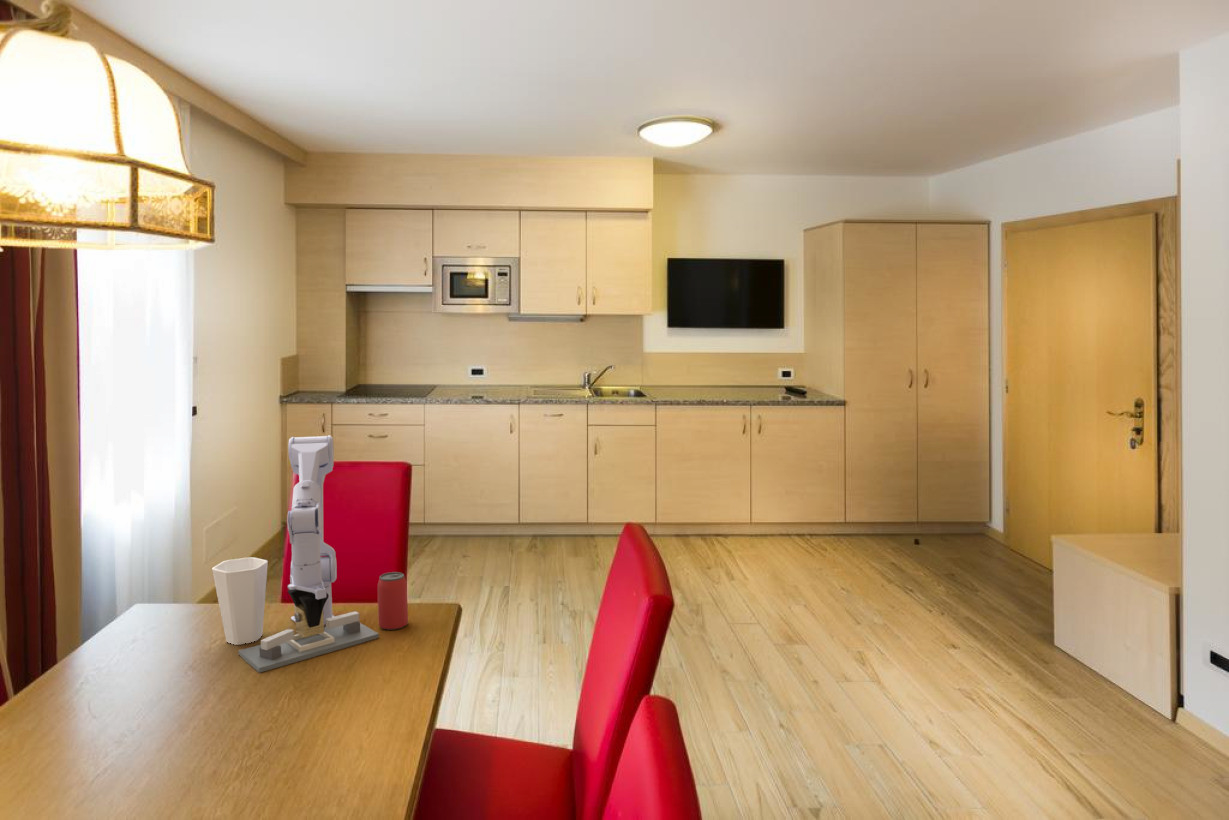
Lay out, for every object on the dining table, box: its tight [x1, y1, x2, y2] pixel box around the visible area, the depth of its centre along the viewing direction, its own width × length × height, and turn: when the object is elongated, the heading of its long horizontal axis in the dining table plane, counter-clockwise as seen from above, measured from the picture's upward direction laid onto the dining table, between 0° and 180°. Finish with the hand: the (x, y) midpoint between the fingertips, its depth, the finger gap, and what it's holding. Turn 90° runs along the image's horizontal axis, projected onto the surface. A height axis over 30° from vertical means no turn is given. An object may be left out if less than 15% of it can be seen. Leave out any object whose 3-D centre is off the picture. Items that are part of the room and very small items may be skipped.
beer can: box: [377, 571, 409, 631], centre depth 186 cm, size 7×7×12 cm
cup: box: [211, 556, 269, 646], centre depth 178 cm, size 11×10×17 cm
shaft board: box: [238, 610, 380, 673], centre depth 175 cm, size 12×26×5 cm, turn 133°
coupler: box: [293, 604, 325, 638], centre depth 174 cm, size 4×6×6 cm
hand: (309, 622), depth 174 cm, fingers closed on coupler, 4 cm apart
